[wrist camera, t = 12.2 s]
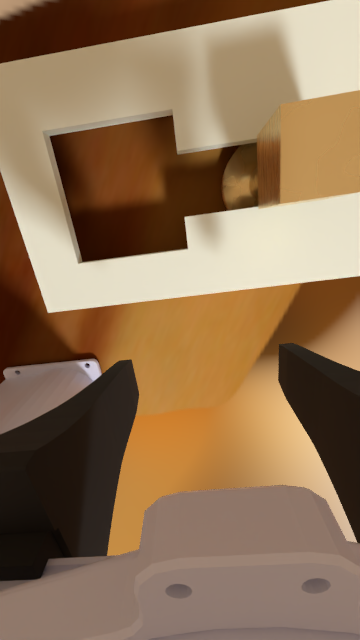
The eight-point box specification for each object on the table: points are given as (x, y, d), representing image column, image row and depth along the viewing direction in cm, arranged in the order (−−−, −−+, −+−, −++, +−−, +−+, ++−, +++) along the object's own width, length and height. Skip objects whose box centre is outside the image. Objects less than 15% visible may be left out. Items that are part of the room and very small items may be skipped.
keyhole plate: (70, 298, 22) (48, 312, 18) (12, 102, 17) (-34, 70, 13) (352, 264, 20) (387, 272, 17) (378, 37, 15) (437, -21, 12)
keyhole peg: (224, 233, 20) (251, 238, 11) (218, 144, 18) (246, 68, 9) (302, 222, 19) (391, 218, 11) (305, 129, 17) (419, 35, 9)
